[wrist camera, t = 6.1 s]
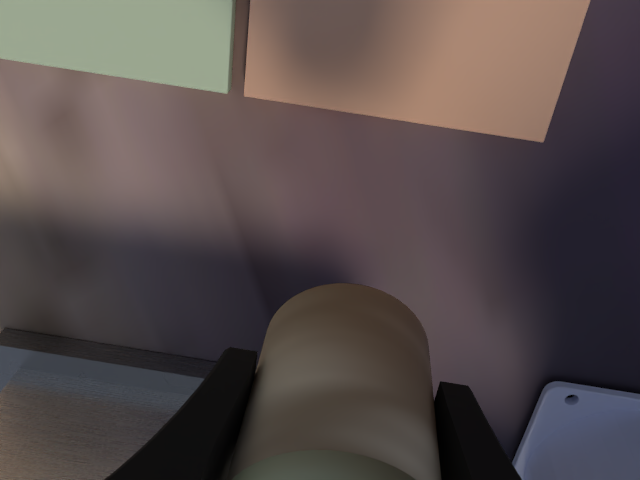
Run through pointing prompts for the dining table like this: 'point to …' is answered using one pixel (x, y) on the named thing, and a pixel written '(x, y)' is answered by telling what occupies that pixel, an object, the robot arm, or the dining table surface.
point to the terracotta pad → (418, 59)
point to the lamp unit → (83, 404)
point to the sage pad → (125, 38)
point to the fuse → (340, 392)
